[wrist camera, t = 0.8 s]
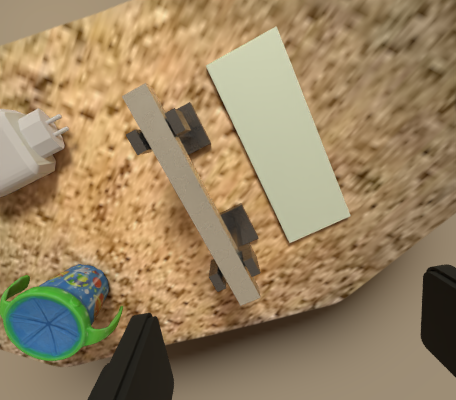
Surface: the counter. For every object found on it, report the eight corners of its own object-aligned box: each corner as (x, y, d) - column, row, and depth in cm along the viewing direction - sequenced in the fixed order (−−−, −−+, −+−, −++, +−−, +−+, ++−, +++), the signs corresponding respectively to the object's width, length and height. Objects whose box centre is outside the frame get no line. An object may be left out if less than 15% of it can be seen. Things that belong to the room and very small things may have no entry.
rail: (152, 87, 23) (145, 83, 21) (258, 286, 29) (260, 297, 27) (130, 99, 24) (122, 96, 22) (239, 294, 29) (240, 305, 27)
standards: (190, 103, 34) (167, 83, 21) (257, 235, 39) (272, 286, 26) (153, 123, 35) (108, 116, 22) (223, 251, 40) (221, 308, 27)
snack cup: (33, 288, 41) (-28, 336, 32) (51, 237, 39) (-8, 271, 29) (120, 324, 43) (88, 379, 33) (143, 276, 41) (116, 321, 31)
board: (275, 29, 32) (276, 26, 31) (348, 214, 38) (350, 215, 37) (206, 67, 33) (205, 65, 32) (288, 240, 39) (289, 243, 38)
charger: (93, 152, 36) (10, 194, 38) (56, 90, 34) (-30, 137, 35) (73, 155, 31) (-21, 202, 33) (29, 83, 29) (-69, 138, 31)
